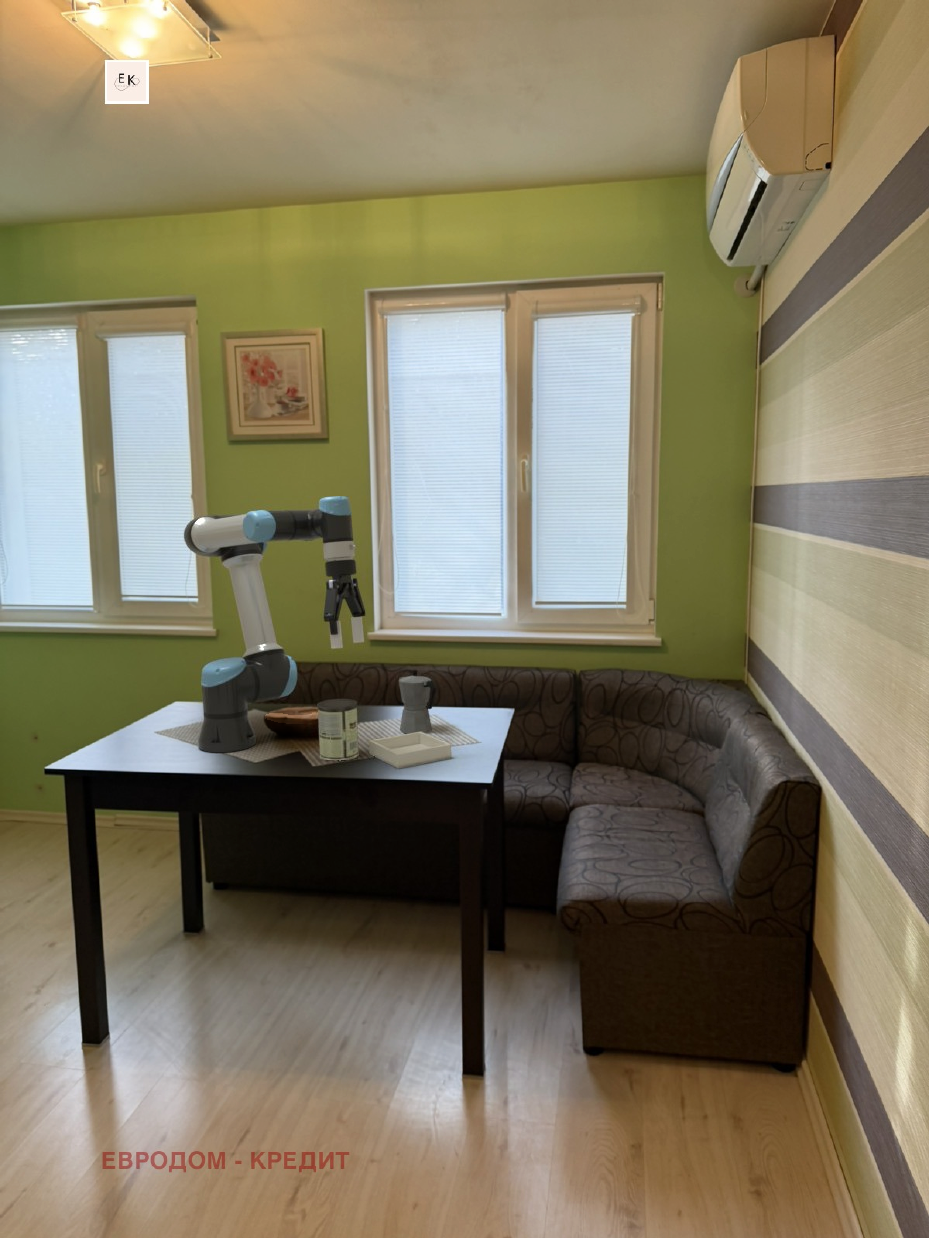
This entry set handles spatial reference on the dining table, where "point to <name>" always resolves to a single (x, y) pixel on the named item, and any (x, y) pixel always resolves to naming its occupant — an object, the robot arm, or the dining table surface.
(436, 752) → the tray
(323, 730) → the coffee can
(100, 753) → the dining table surface
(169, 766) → the dining table surface
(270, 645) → the robot arm
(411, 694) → the coffeepot
